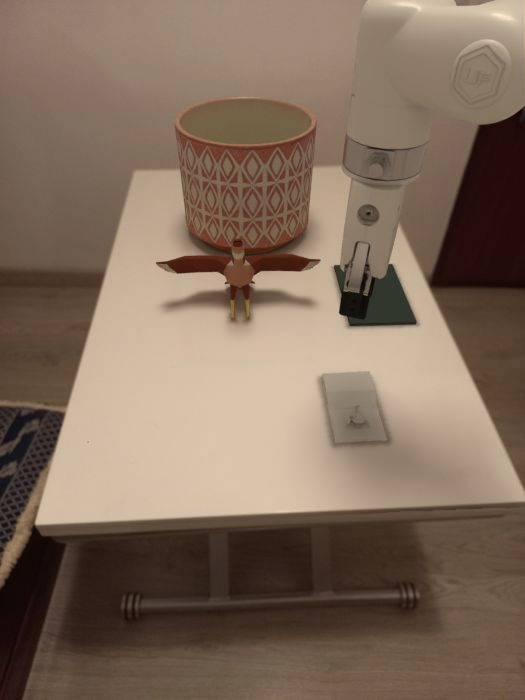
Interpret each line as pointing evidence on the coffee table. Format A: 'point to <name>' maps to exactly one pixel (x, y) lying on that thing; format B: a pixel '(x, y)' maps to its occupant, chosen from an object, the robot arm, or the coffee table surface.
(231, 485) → the coffee table surface
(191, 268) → the decorative bird
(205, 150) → the planter
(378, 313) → the felt mat
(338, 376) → the white pop-up card
